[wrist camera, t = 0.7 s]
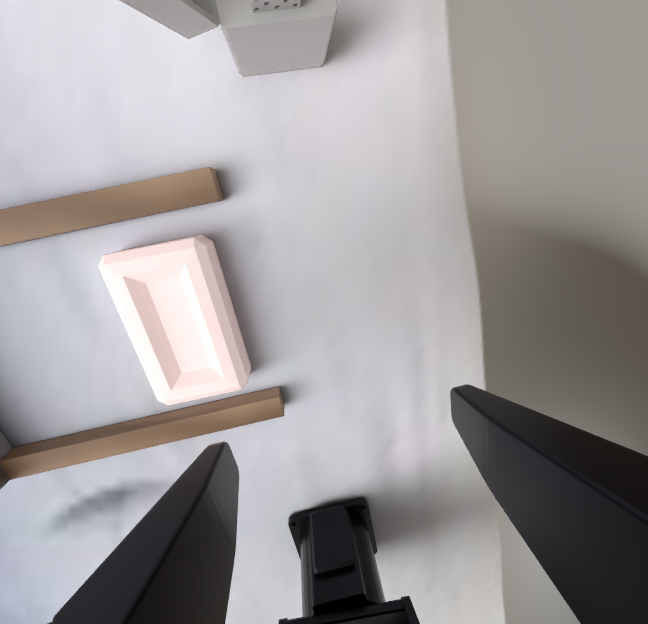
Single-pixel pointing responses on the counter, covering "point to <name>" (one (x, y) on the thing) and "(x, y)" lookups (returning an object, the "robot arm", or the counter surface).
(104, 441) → the guide channel
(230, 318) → the soap bar
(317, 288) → the counter surface
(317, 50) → the lighter
